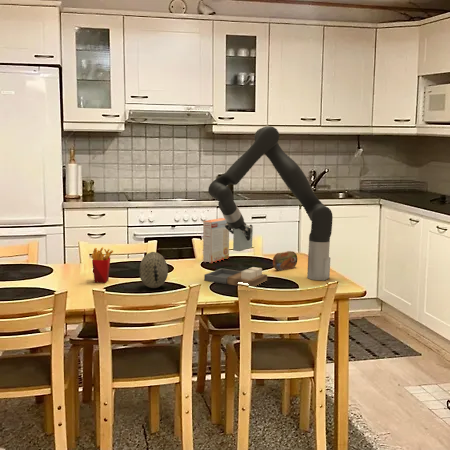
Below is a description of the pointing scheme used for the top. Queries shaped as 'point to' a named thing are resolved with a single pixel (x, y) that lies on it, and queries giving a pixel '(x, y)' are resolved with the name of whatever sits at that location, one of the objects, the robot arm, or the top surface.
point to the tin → (285, 260)
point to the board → (253, 282)
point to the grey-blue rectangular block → (241, 241)
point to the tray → (220, 275)
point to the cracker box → (215, 240)
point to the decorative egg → (153, 270)
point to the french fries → (101, 265)
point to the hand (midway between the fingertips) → (245, 238)
